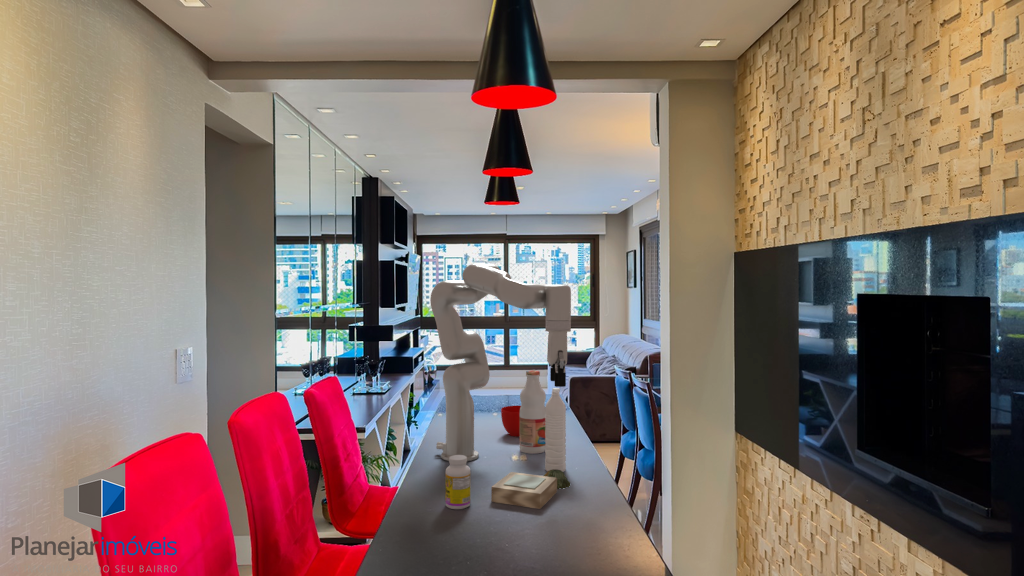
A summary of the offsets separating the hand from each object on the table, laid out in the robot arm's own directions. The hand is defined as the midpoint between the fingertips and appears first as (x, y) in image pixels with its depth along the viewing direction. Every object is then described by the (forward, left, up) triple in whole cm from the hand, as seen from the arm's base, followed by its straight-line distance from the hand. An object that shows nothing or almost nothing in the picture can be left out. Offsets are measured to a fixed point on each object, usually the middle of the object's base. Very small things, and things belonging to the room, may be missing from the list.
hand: (557, 383), depth 180 cm
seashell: (0, -2, -30) cm, 30 cm away
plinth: (-4, -16, -29) cm, 33 cm away
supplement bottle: (-18, -29, -29) cm, 45 cm away
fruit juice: (-18, +28, -29) cm, 44 cm away
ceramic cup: (-31, +49, -29) cm, 65 cm away
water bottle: (-4, +11, -29) cm, 32 cm away
